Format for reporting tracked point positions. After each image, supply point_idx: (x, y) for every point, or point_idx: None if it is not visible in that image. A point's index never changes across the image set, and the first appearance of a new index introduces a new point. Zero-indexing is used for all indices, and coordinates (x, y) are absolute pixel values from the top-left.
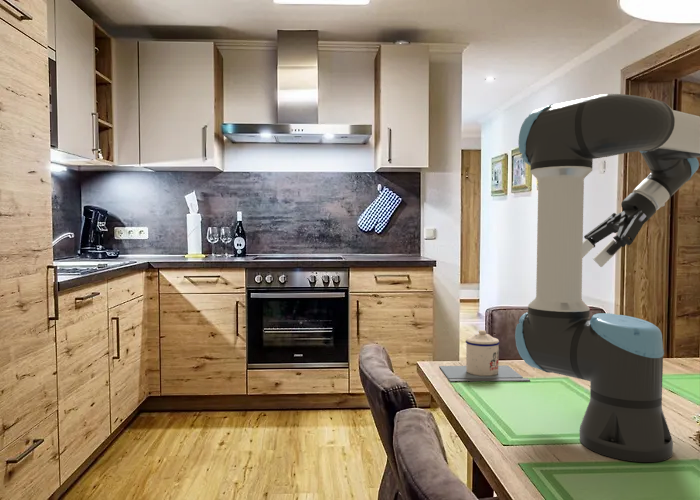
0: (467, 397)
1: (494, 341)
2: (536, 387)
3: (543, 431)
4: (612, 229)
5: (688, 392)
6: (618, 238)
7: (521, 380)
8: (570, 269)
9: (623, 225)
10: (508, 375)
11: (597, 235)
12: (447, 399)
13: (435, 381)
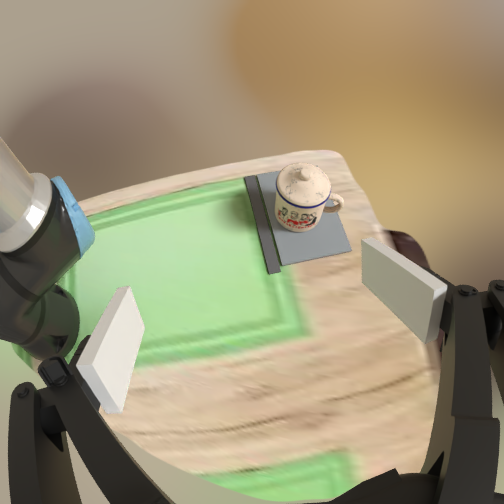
0: (180, 195)
1: (288, 196)
2: (236, 279)
3: (80, 260)
4: (428, 461)
5: (249, 489)
6: (49, 381)
7: (266, 261)
8: None
9: (103, 492)
10: (288, 245)
11: (448, 350)
12: (172, 178)
13: (245, 163)
